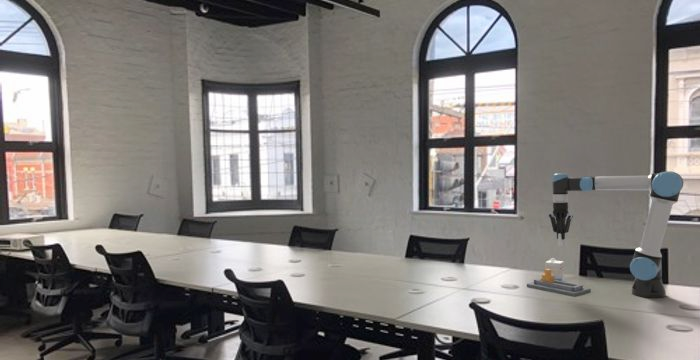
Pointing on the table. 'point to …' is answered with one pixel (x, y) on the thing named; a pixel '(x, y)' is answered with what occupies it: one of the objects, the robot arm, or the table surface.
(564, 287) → the panel
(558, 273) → the ink box
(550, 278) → the toggle
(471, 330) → the table surface
